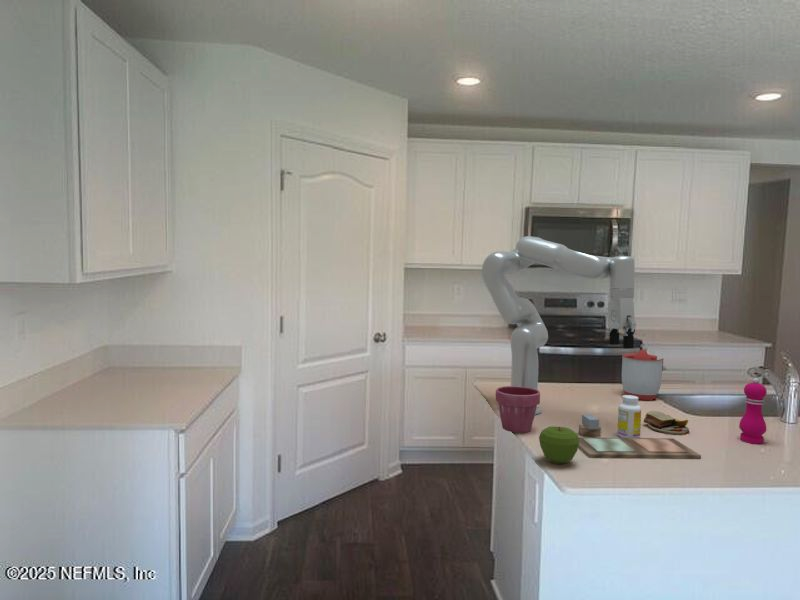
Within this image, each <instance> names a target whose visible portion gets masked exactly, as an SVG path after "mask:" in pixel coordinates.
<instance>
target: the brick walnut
mask: <svg viewBox="0 0 800 600" xmlns="http://www.w3.org/2000/svg"><path fill="white" fill-rule="evenodd" d="M577 433H578V434H577V435H579V434H580V435H581V436H580V435H579V436H580V437H582V436H583V438H602V437H601V435H602V434H601V433H602V427H601V426H599V429H588V428H587V427H586V426H584V425H583V424H579V425H578V432H577Z"/></svg>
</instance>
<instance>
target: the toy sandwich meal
mask: <svg viewBox="0 0 800 600" xmlns="http://www.w3.org/2000/svg"><path fill="white" fill-rule="evenodd" d="M643 423H645V424H647V426H648V427H649V428H650V430H652V429H653V431H654V430H655V432H657V431H659V432H658V433H661V432H663V433H662V434H666V433H667V435H685V434H687V433H688V432H689V431H690V428H689V427H687V425H688V423H689V419H685V420H680V419H677V418H675V417H673V416H671V415H670V414H666V413H664V412H662V411H655V410H653V411H651V410H650V411H647V412H646V414H645V417H644V418H643ZM686 432H687V433H686ZM684 433H685V434H684Z"/></svg>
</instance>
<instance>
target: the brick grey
mask: <svg viewBox="0 0 800 600" xmlns="http://www.w3.org/2000/svg"><path fill="white" fill-rule="evenodd" d="M599 424H600V419H598V417H595V416H594V415H593V414H591V413H589V414H585V413H584V414H583V413H582V415H581V425H584V426H586V427H587V428H588V429H599V427H600V425H599Z"/></svg>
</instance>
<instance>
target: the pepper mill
mask: <svg viewBox="0 0 800 600" xmlns="http://www.w3.org/2000/svg"><path fill="white" fill-rule="evenodd" d="M767 393H768V392H767V388H766V386H765V385H763V384H761V383H760V379H759V378H757V377H754V378H753V379H752V382H748V383H747V384H746V385H745V386H744V387H743V394H745V396H746V397H744V399H745V400H744V402H745V403H746V407H745V411H744V414H743V415H742V417H741V419H740V421H739V424H738V425H739V426H738V428H739V430H740V432H741V433H740V436H739V439H740V441H742V442H744V443H749V444H755V445H762V444H764V441H765V440H764V439H765V437H764V436H763V435H764V434H765V433H766V432H767V424H766V420H765V419H764V416H763V411H762V409H763V405H764V404H765V397H766V396H767Z"/></svg>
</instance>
